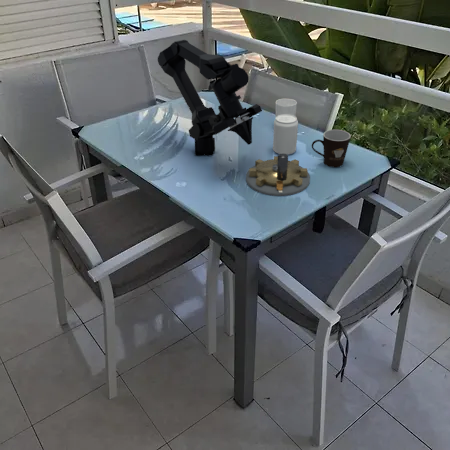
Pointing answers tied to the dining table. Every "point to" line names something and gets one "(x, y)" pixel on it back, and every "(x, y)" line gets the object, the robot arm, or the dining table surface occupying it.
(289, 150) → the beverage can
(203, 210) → the dining table surface
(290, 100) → the white translucent cylinder
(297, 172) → the sprocket
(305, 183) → the sprocket base
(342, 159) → the coffee mug
